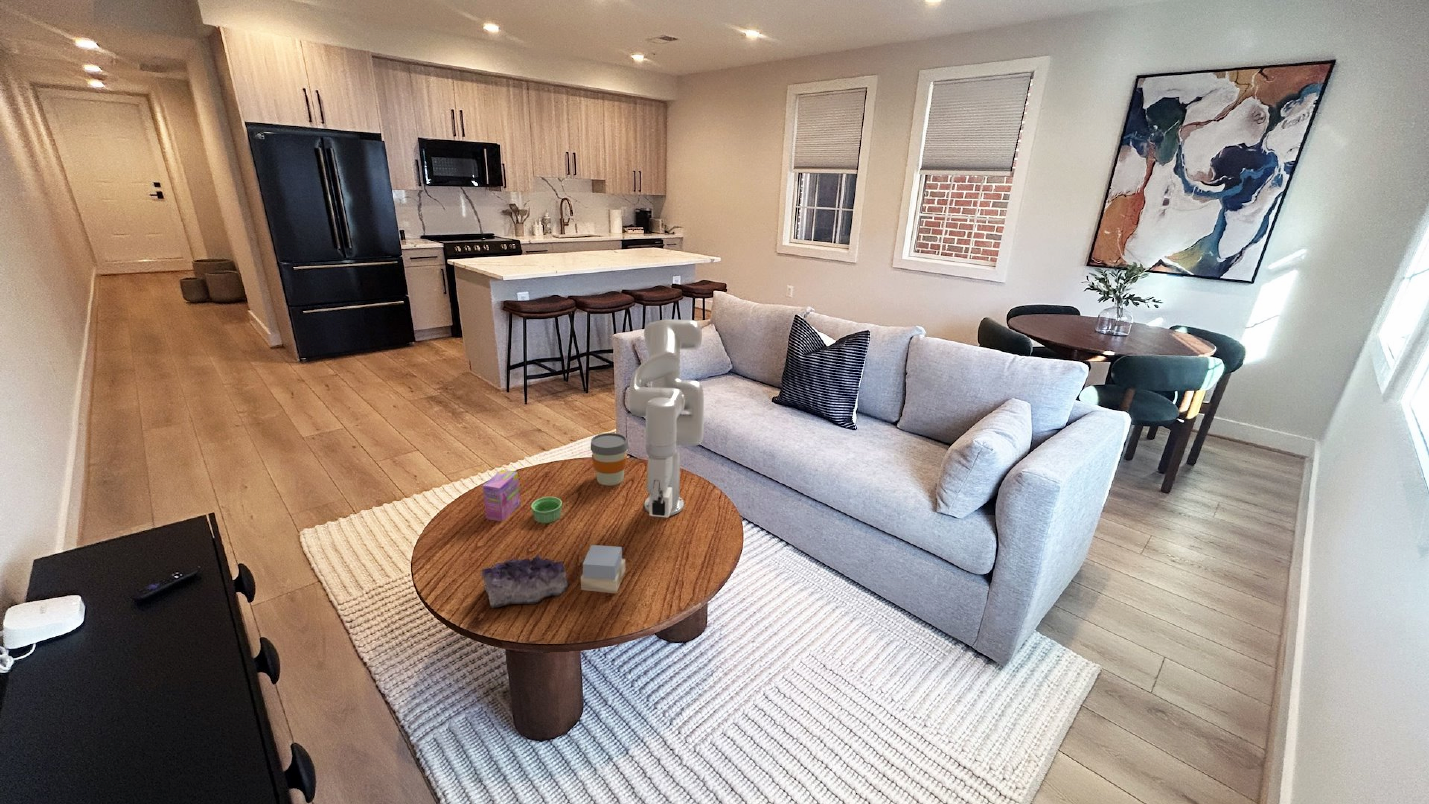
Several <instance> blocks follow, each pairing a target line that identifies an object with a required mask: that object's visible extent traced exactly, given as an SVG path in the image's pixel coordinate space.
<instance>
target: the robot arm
mask: <svg viewBox="0 0 1429 804" xmlns="http://www.w3.org/2000/svg"><path fill="white" fill-rule="evenodd" d="M643 330H644V331H643V336H644V343H645V347H646V351H647V354H648V359H646V360H644V361H643V362H642V363H641V364H640V365H639V366H638V367H637V368H636V369H635V371H634V372H633V373H632V376H631V378H630V383H629V391H628V405H627V406H628V409H629V412H630V413H631V414H632V415H633V416H635V417H643V418H645V454H646V455H647V456H648V461H647V471H646V477H647V478H646V493H649V495H650V493H651V491H652V489H653V498H652V514H653V515H660V516H664V515H665V502H664V493H666V491H667V488H668V487H672V509H671V512H670V515H669V517H670V516H674V515H676V514H679V513H680V512H681V511H682V510H683V509H684V506H685V503H684V502H685V501H684V500H683V498H682V497H680V475H681V474H680V471H681V470H680V469H681V468H680V467H681V465H680V464H681V458H680V454H679V452H678V450H677V446H698V445H700V444H701V443H702V442H703V439H704V431H705V423H704V422H705V420H704V419H705V415H704V413H705V407H704V405H705V404H704V401H705V400H704V398H705V397H704V389H703V385H702V384H701V382H699V381H697V380H696V379H695V380H694V379H693V380H692V379H681V378H680V374H681V372H680V370H681V369H680V368H681V366H680V364H681V360H680V359H681V358H680V357H681V355H680V354H681V350H685V351H687V350H691V351H697V350H699V348H700V347H701V344H702V340H703V333H702V331H703V330H702V327H701V324H700V322H698V321H697V320H693V319H661V320H657V321H652V322H649V323H647V324H646V325H645V327H644V329H643ZM648 383H651V384H652V385H651V386H649V387H647V386H645V385H647V384H648ZM644 386H645V387H644ZM683 411H684V412H685V411H686V412H687V413H682V412H683ZM681 413H682V414H681ZM659 489H661V490H662V491H661V490H659ZM659 494H661V497H659ZM649 495H648V497H647V498H646V499H645V501H644V509H645V511H647V513H649Z"/></svg>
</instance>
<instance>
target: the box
mask: <svg viewBox="0 0 1429 804" xmlns="http://www.w3.org/2000/svg"><path fill="white" fill-rule="evenodd" d="M519 486H520V484H519V473H518V471H514V470H507V469H501V470H499V471H498V472H497V473H496V474H494V475H493V476H492V477H491V478H490V479H488V480H487V481H486V482H485V483H484V484H483V485H482V492H483V501H484V502H483V503H484V511H485V518H486V519H487V520H488V521H489V520H490V521H496V522H501V523H502V522H504V521H505V520H506V519H508V517H509V516H510V515H511V514H512V513H513V512H514V511H515V510H516V509H517V508H518V507H519V506H521V497H520V496H521V495H520V487H519Z"/></svg>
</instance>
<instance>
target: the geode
mask: <svg viewBox="0 0 1429 804" xmlns="http://www.w3.org/2000/svg"><path fill="white" fill-rule="evenodd" d="M565 567H566V566H565V565H564V562H563V561H562V560H561V561H554V560H553V559H549V558H542V557H540V555H539V554H537V555H535V556H534V557H533V558H532V559H530V558H529V557H528V558H523V559H514V558H511V559H509V560H506V561H505V560H504V562H497V563H494V565H493V567H487V568H482V569H481V573H480V574H481V577H482V579H483V581H484V586H483V587H484V588H483V589H485V592H486V594H487V595H488V600H489V607H490V608H492V609H493V608H500V607H504V606H508V605H510V604H513V605H523V604H525V605H526V604H527V605H536V604H538V603H539V602H541V601H542V600H543V599H545V598H548V597H550V596H555V597H556V596H558V597H560V596H562V595H563V593H564V592H566V591H567V590H568V586H569V585H568V581H567V573H566V568H565Z"/></svg>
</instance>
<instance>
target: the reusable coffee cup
mask: <svg viewBox="0 0 1429 804" xmlns="http://www.w3.org/2000/svg"><path fill="white" fill-rule="evenodd" d="M628 447H629V444H628V438H627V437H626V436H625V435H624V434H621V433H617V432H605V433H599V434H597V435H595V436H593V437H592V438H591V440H590V451H591V453H592V454H591V460H592V465H593V469H594V471H595V474H596V481H597V482H598V484H600V485H603V486H616V485H619V484H621V483H622V482H623V481H624V476H625V469H626V467H627V461H628V452H627V451H628Z"/></svg>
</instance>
